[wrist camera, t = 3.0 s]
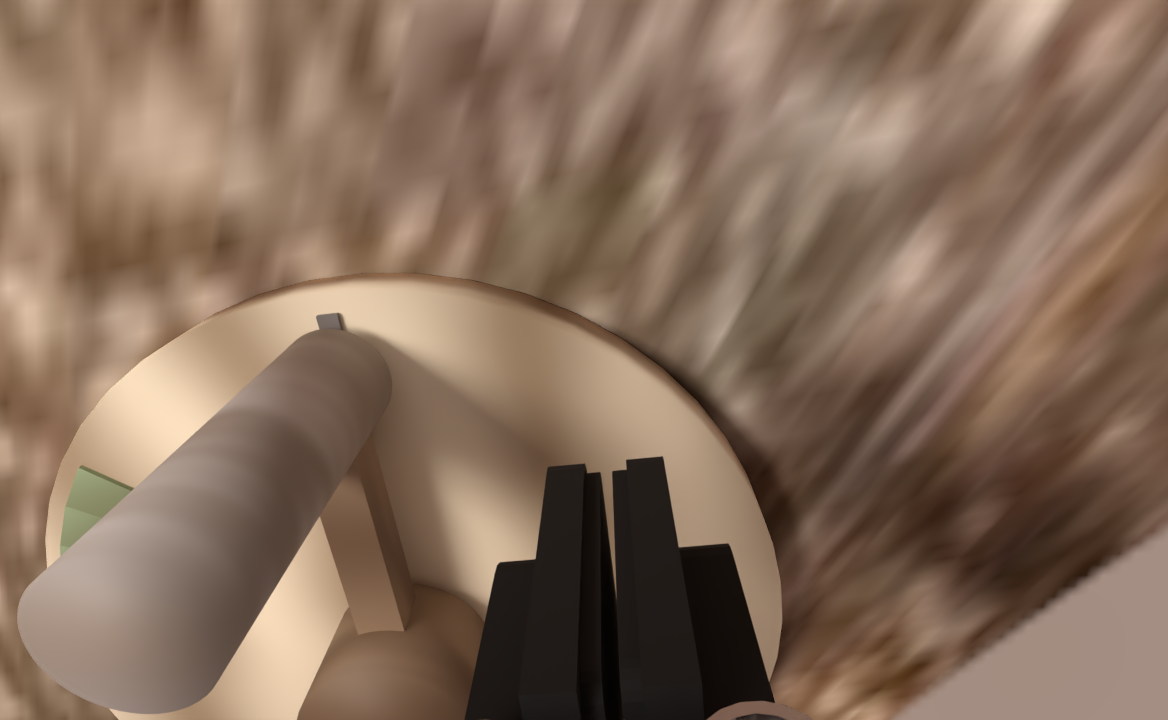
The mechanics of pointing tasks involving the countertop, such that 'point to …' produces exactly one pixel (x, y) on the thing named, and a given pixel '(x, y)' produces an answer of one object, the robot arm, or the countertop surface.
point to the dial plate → (424, 452)
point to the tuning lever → (257, 558)
